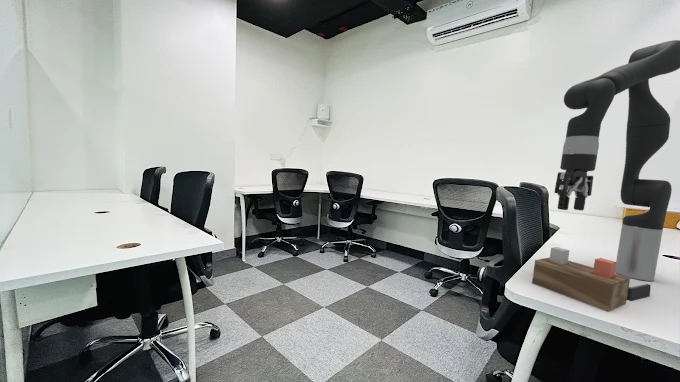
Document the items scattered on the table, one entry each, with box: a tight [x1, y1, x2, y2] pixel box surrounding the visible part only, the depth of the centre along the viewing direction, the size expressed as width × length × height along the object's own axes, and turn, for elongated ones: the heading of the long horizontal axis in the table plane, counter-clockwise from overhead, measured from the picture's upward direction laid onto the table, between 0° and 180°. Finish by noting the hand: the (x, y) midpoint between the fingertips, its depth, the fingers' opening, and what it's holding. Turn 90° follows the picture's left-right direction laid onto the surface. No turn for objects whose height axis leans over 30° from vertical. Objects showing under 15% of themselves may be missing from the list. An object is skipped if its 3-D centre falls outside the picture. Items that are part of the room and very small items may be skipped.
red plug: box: [593, 257, 617, 279], centre depth 70 cm, size 3×3×7 cm
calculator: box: [627, 278, 652, 302], centre depth 81 cm, size 11×4×15 cm
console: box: [531, 256, 631, 312], centre depth 75 cm, size 11×17×7 cm, turn 27°
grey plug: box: [549, 246, 570, 265], centre depth 79 cm, size 3×3×7 cm
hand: (570, 209), depth 77 cm, fingers open, 8 cm apart
